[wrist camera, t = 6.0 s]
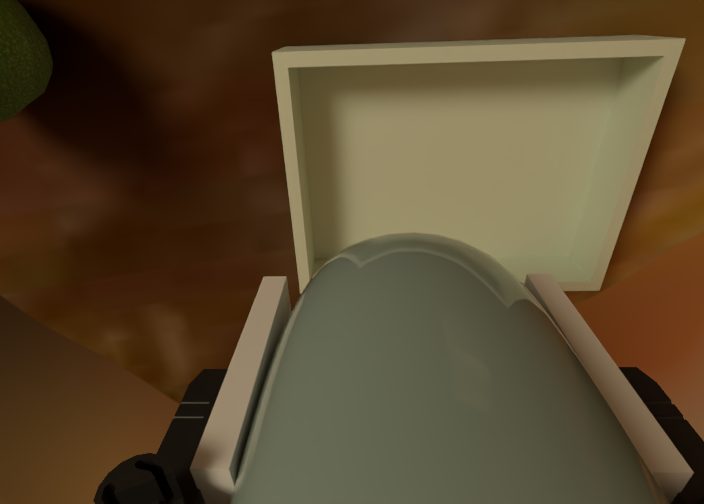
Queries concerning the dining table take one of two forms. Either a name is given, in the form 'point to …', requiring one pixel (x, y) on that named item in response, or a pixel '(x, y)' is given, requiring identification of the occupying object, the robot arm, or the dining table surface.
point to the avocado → (21, 59)
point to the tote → (472, 145)
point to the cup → (432, 392)
